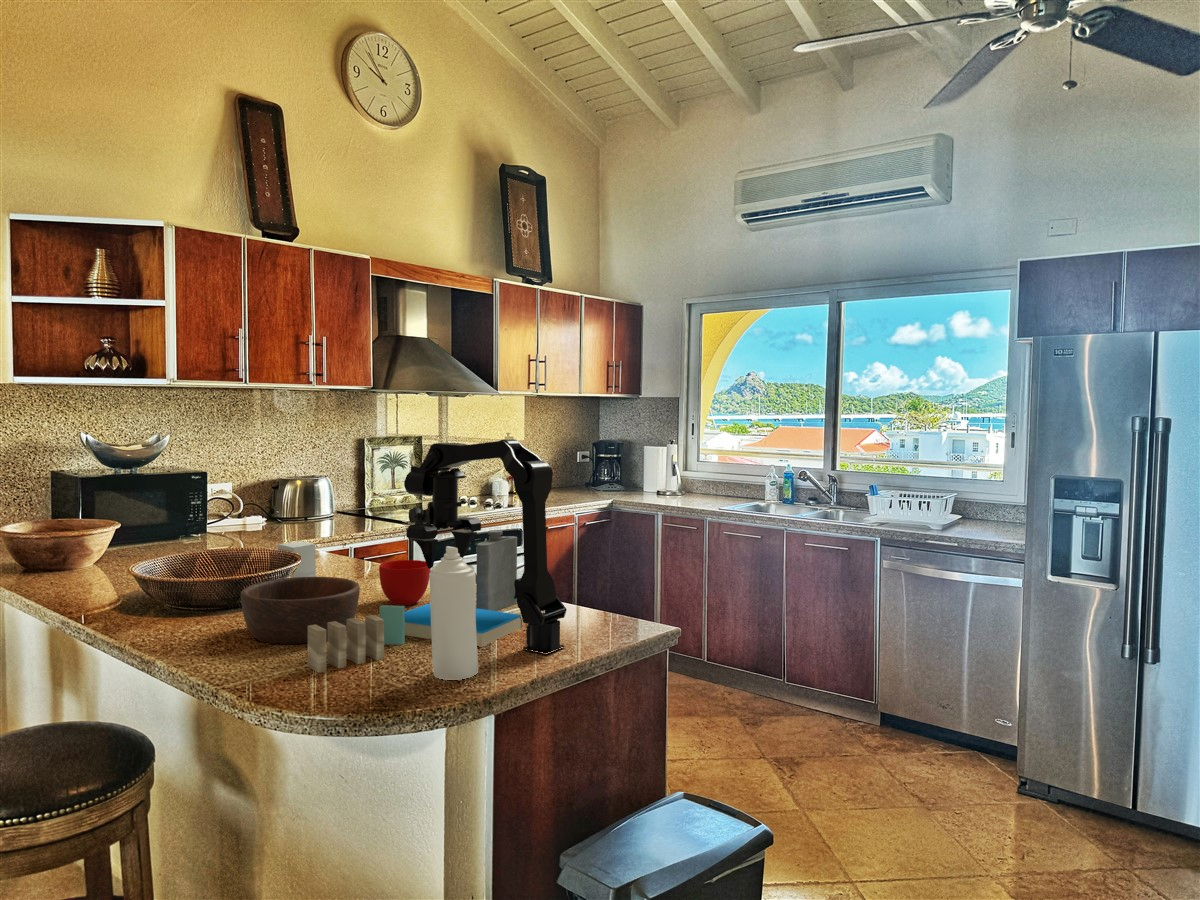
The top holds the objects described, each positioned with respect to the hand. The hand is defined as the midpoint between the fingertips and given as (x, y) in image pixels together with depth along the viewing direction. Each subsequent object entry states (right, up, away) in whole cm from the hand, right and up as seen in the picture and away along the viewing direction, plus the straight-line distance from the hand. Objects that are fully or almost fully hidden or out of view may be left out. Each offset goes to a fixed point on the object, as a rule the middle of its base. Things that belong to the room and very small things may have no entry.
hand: (444, 565), depth 186 cm
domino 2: (-16, -16, -26) cm, 35 cm away
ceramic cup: (-15, -13, +27) cm, 34 cm away
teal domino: (-9, -15, -11) cm, 21 cm away
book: (+3, -16, -1) cm, 16 cm away
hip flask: (+9, -14, +20) cm, 26 cm away
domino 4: (-10, -16, -21) cm, 28 cm away
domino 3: (-13, -16, -24) cm, 31 cm away
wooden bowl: (-31, -15, -4) cm, 35 cm away
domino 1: (-19, -16, -29) cm, 38 cm away
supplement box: (-49, -12, +39) cm, 64 cm away
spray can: (+8, -17, -32) cm, 37 cm away
